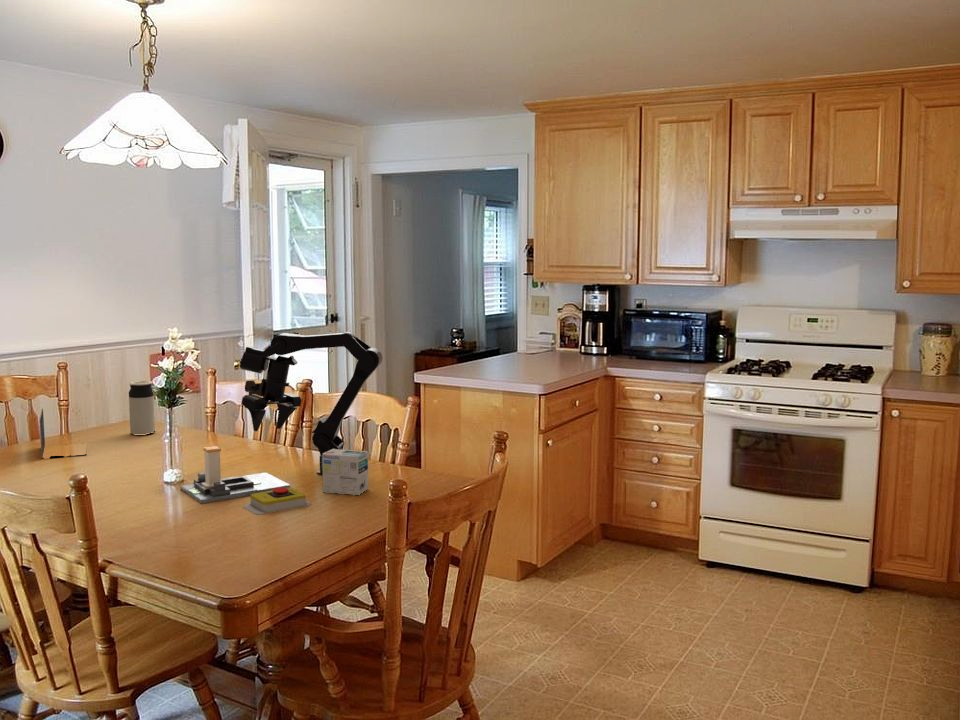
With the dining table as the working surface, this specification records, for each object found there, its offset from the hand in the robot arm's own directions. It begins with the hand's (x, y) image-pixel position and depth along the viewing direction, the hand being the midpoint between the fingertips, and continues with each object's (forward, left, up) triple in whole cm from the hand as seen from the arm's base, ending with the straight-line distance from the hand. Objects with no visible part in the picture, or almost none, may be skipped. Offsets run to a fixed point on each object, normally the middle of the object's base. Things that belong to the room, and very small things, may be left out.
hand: (267, 429), depth 243 cm
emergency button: (-27, +20, -13) cm, 36 cm away
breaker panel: (-7, +17, -12) cm, 22 cm away
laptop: (+70, +21, -13) cm, 75 cm away
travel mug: (+74, -9, -13) cm, 76 cm away
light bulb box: (-32, +1, -13) cm, 34 cm away
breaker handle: (-5, +23, -11) cm, 26 cm away
